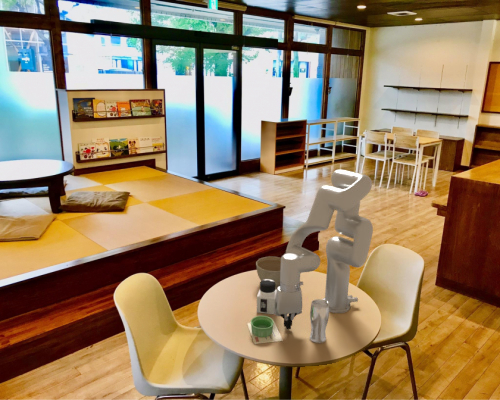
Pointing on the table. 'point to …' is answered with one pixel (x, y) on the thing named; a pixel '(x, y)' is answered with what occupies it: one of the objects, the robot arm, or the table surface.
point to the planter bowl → (269, 269)
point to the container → (266, 297)
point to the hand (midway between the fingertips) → (287, 327)
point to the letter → (271, 338)
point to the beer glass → (319, 320)
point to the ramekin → (262, 326)
